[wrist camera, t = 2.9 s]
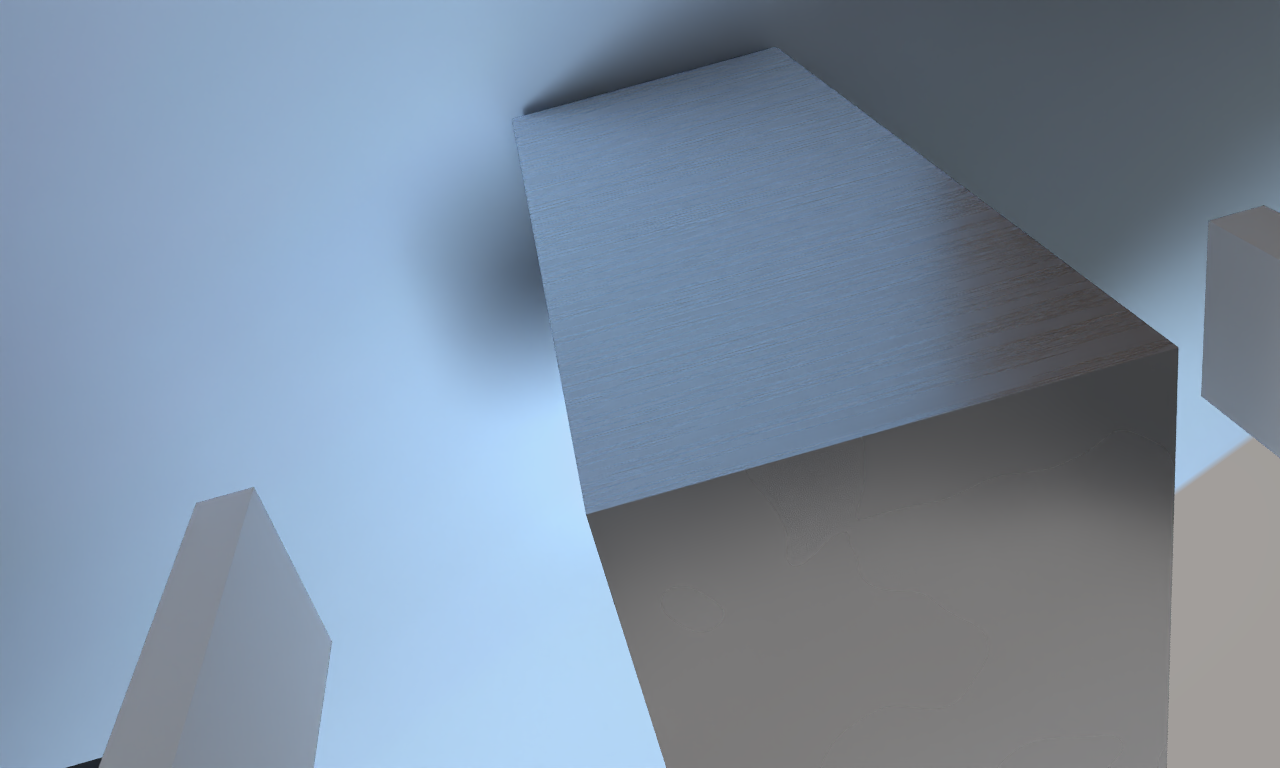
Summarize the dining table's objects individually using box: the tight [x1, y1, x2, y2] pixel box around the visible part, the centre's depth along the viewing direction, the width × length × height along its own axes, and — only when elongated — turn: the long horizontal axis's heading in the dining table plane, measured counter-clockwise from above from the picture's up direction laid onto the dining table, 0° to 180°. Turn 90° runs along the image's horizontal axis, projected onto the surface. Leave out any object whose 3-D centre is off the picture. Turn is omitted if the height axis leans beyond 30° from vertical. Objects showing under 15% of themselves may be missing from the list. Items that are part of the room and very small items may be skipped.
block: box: [512, 47, 1178, 768], centre depth 13 cm, size 4×8×10 cm, turn 13°
